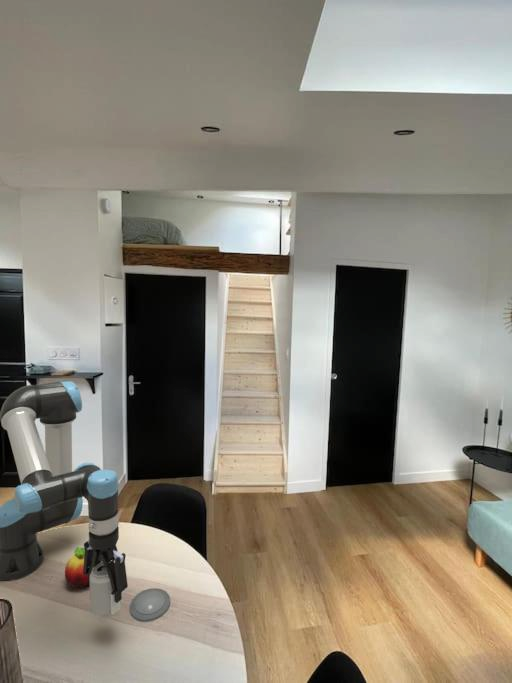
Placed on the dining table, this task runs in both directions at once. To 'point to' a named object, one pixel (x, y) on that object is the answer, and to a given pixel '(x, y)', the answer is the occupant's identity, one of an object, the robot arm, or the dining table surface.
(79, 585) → the fruit
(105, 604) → the can
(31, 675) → the dining table surface
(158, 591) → the saucer
